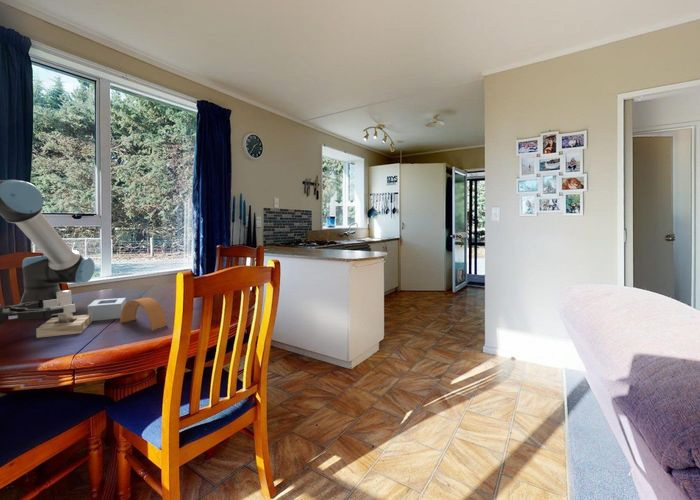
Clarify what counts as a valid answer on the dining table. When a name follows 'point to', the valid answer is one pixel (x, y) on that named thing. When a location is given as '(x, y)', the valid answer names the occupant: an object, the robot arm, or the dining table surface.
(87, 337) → the dining table surface
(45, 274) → the robot arm
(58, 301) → the steel axle
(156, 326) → the arch
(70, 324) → the birch block
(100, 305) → the slate holder block
